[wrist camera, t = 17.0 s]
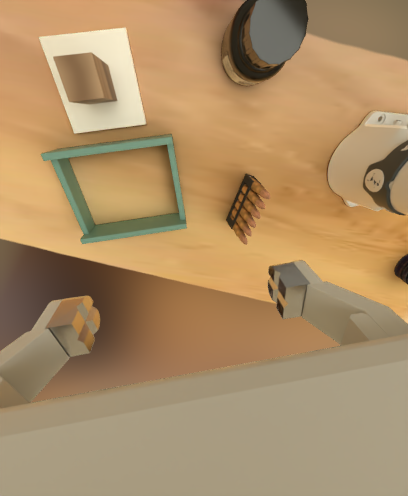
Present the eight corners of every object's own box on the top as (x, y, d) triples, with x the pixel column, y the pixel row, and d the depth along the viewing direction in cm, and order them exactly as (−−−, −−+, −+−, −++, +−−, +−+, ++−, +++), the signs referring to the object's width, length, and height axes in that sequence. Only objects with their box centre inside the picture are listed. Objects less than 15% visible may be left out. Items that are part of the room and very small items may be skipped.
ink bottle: (214, 82, 37) (231, 70, 26) (221, 7, 32) (243, -42, 22) (270, 89, 38) (306, 80, 28) (284, 18, 34) (332, -24, 23)
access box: (171, 133, 40) (171, 136, 35) (185, 216, 48) (186, 228, 43) (58, 148, 39) (40, 154, 34) (92, 230, 47) (82, 244, 42)
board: (126, 29, 32) (125, 27, 31) (146, 124, 38) (146, 124, 38) (42, 39, 32) (38, 36, 31) (76, 133, 38) (74, 133, 37)
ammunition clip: (233, 222, 50) (248, 249, 40) (225, 220, 50) (239, 247, 40) (253, 176, 45) (277, 194, 35) (245, 173, 45) (267, 190, 35)
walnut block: (108, 65, 33) (91, 52, 26) (117, 100, 35) (104, 97, 29) (77, 68, 33) (52, 56, 26) (89, 104, 35) (69, 102, 28)
